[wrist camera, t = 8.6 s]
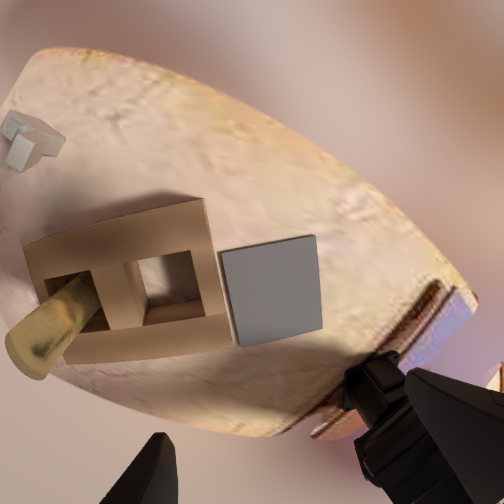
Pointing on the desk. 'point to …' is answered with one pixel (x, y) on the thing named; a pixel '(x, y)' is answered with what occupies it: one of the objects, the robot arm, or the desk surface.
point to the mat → (274, 290)
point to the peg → (52, 327)
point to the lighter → (29, 140)
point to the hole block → (136, 285)
